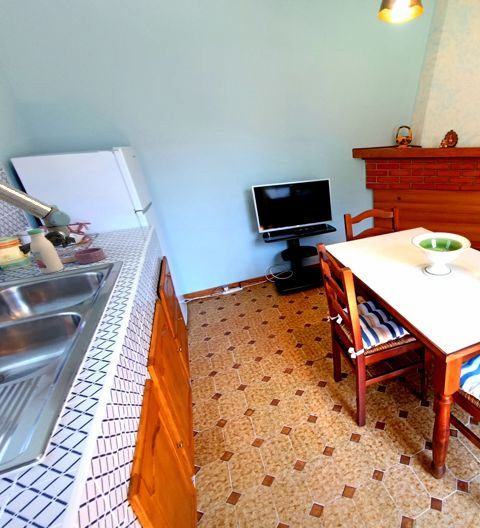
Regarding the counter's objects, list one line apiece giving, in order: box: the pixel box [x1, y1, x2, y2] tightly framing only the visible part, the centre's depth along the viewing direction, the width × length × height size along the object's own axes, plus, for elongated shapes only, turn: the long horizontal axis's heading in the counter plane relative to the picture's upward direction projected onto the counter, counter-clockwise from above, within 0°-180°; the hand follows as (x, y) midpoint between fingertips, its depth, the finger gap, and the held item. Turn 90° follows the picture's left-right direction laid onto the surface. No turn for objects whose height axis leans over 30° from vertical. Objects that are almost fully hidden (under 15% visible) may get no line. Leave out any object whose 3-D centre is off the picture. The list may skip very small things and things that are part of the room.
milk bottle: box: [26, 228, 64, 275], centre depth 138 cm, size 8×8×20 cm
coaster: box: [60, 255, 76, 265], centre depth 155 cm, size 11×11×1 cm
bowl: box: [72, 246, 106, 265], centre depth 152 cm, size 12×12×5 cm
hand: (43, 248), depth 138 cm, fingers open, 13 cm apart
